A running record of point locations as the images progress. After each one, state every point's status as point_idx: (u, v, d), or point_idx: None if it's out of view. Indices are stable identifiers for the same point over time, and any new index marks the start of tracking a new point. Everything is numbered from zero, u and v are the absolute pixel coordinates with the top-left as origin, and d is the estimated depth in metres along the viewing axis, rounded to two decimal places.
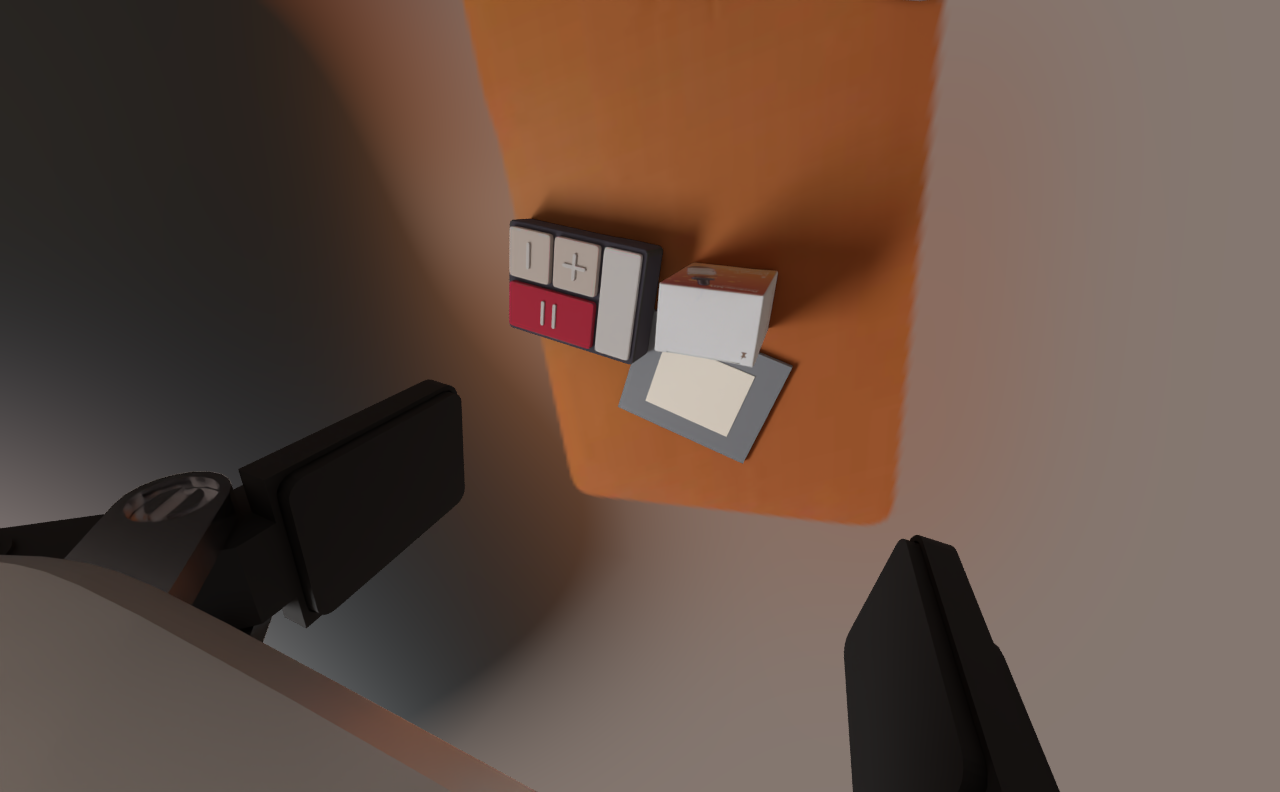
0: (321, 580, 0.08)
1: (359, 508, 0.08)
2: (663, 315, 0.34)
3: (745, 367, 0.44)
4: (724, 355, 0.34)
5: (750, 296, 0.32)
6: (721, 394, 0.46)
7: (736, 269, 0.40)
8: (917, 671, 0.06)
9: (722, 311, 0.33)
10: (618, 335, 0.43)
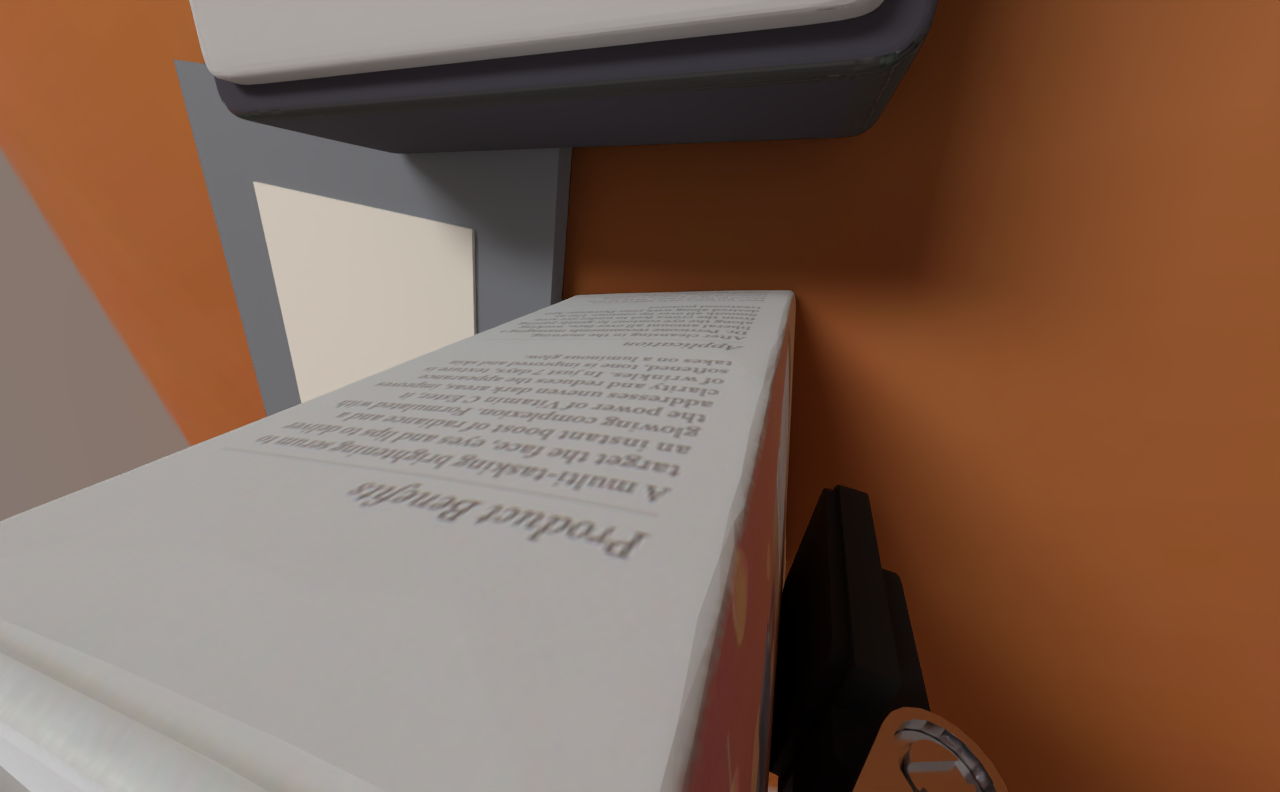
0: None
1: None
2: None
3: None
4: None
5: None
6: None
7: None
8: (818, 589, 0.07)
9: None
10: None
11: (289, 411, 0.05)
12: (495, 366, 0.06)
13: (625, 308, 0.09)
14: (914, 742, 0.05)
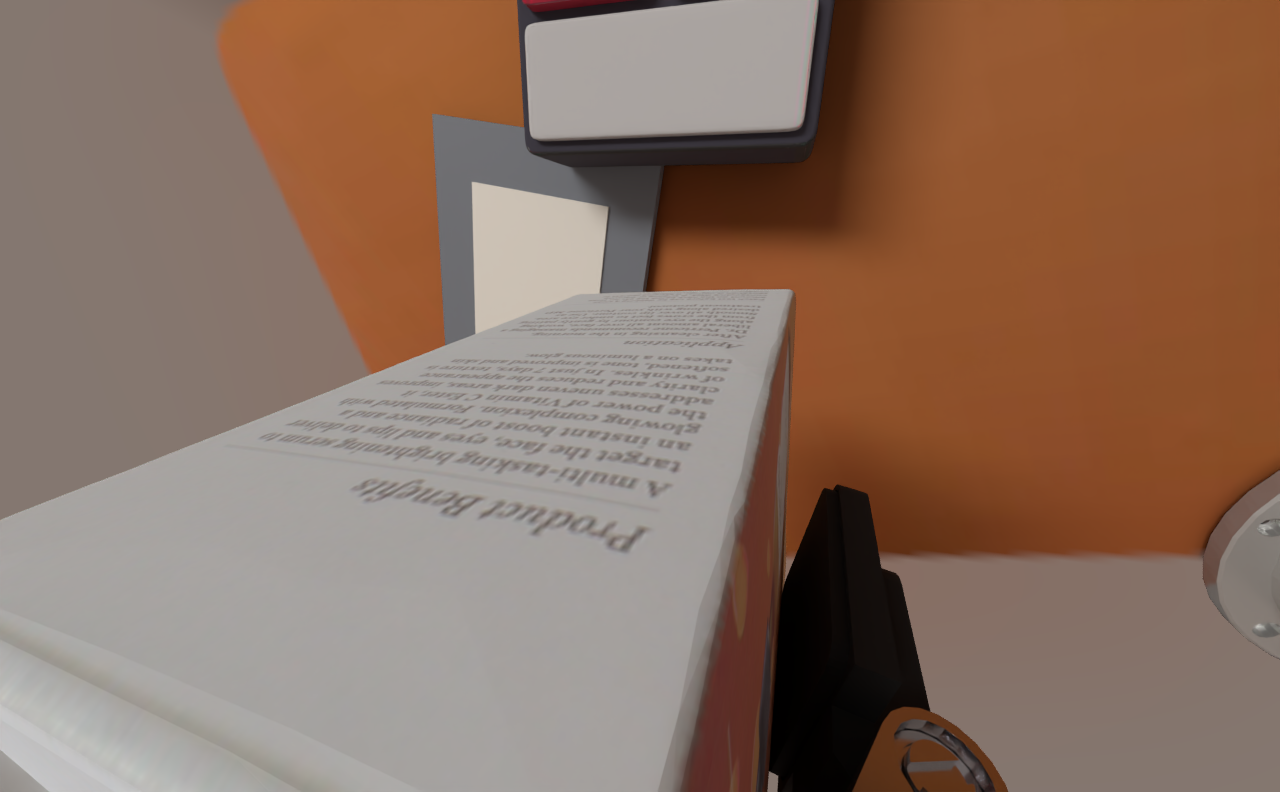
0: None
1: None
2: None
3: None
4: None
5: None
6: None
7: None
8: (818, 589, 0.07)
9: None
10: (583, 98, 0.16)
11: (292, 409, 0.05)
12: (496, 365, 0.06)
13: (626, 307, 0.09)
14: (914, 742, 0.05)
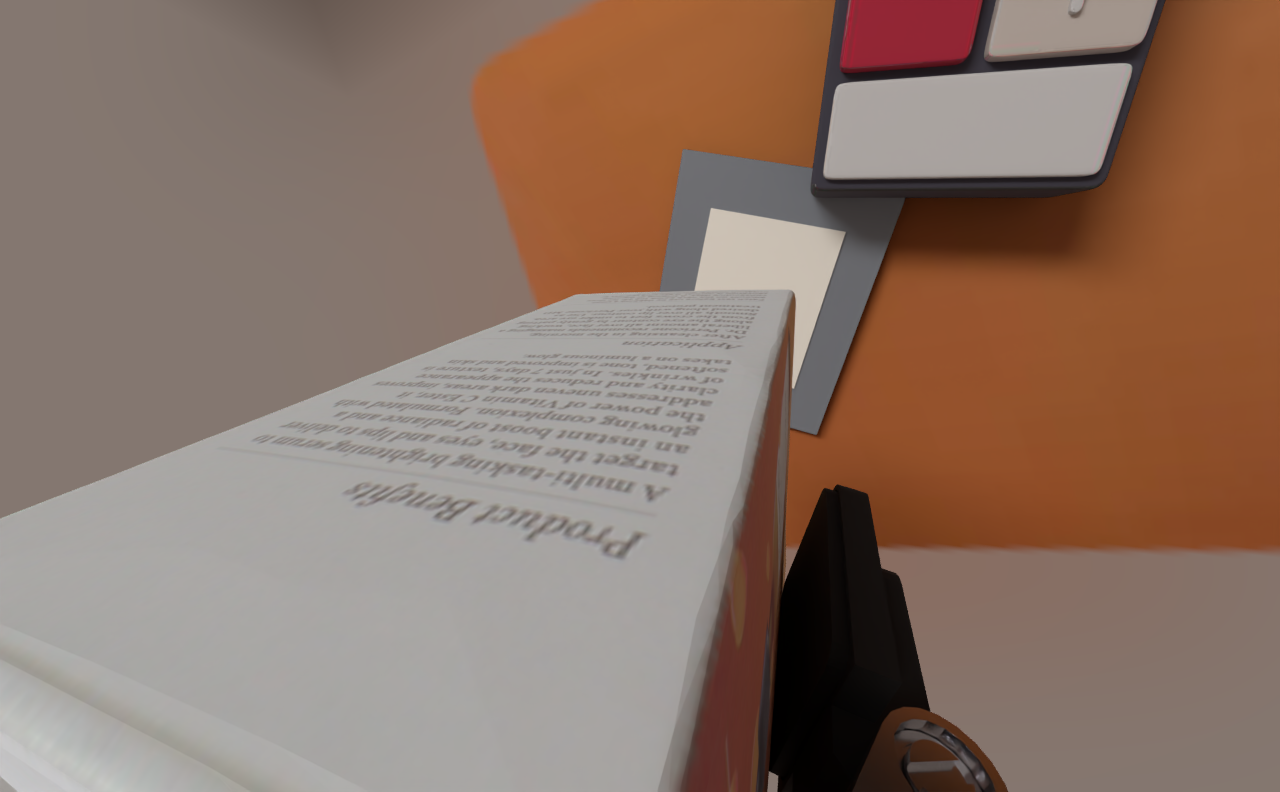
0: None
1: None
2: None
3: (807, 372, 0.28)
4: None
5: None
6: None
7: (786, 497, 0.10)
8: (818, 589, 0.07)
9: None
10: (884, 145, 0.19)
11: (286, 411, 0.05)
12: (493, 365, 0.06)
13: (624, 307, 0.09)
14: (914, 742, 0.05)
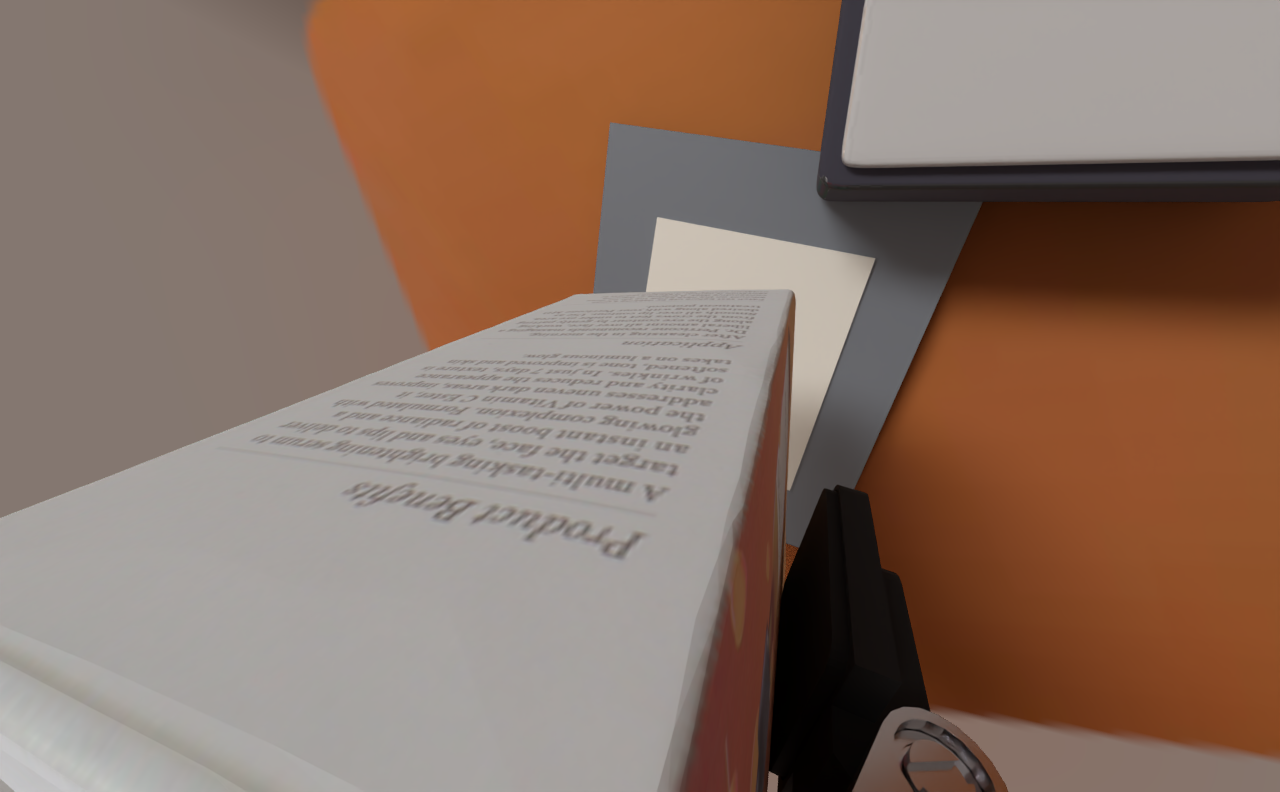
0: None
1: None
2: None
3: (810, 469, 0.18)
4: None
5: None
6: None
7: (786, 497, 0.10)
8: (818, 589, 0.07)
9: None
10: (968, 97, 0.10)
11: (285, 410, 0.05)
12: (493, 365, 0.06)
13: (624, 307, 0.09)
14: (914, 742, 0.05)
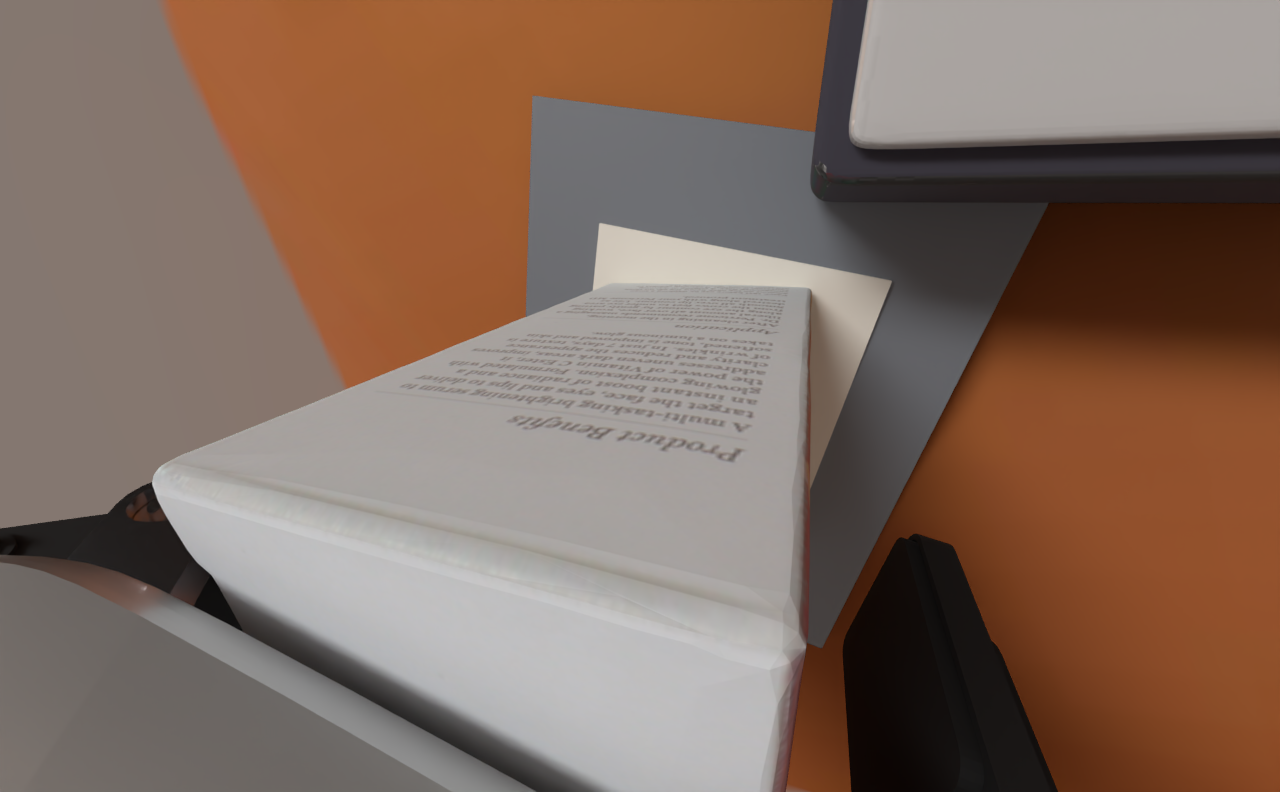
0: None
1: None
2: (419, 608, 0.03)
3: None
4: None
5: None
6: None
7: None
8: (915, 669, 0.06)
9: None
10: (1071, 22, 0.05)
11: (410, 367, 0.06)
12: (570, 339, 0.07)
13: (663, 297, 0.10)
14: None
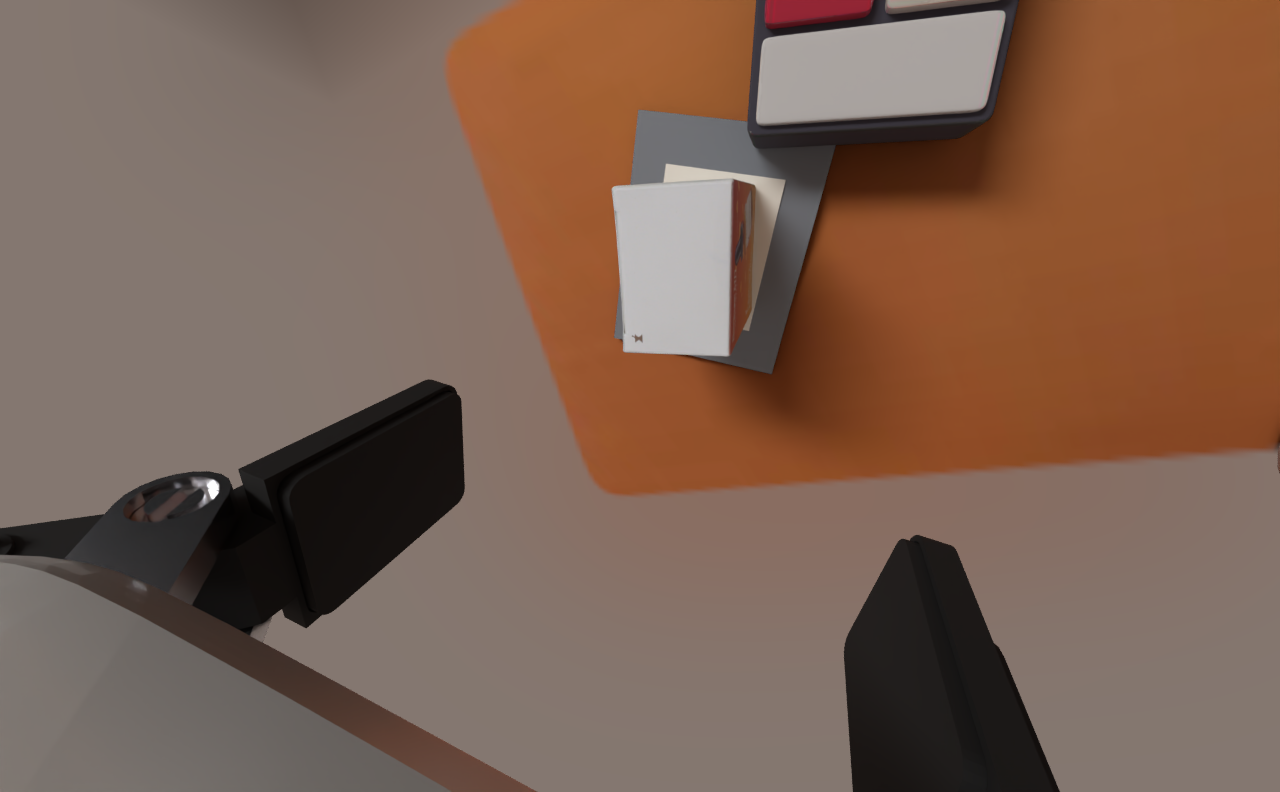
0: (321, 580, 0.08)
1: (359, 508, 0.08)
2: (675, 196, 0.19)
3: (760, 315, 0.31)
4: (631, 310, 0.22)
5: (726, 338, 0.21)
6: None
7: (751, 261, 0.28)
8: (917, 671, 0.06)
9: (698, 299, 0.21)
10: (806, 92, 0.22)
11: None
12: None
13: None
14: None
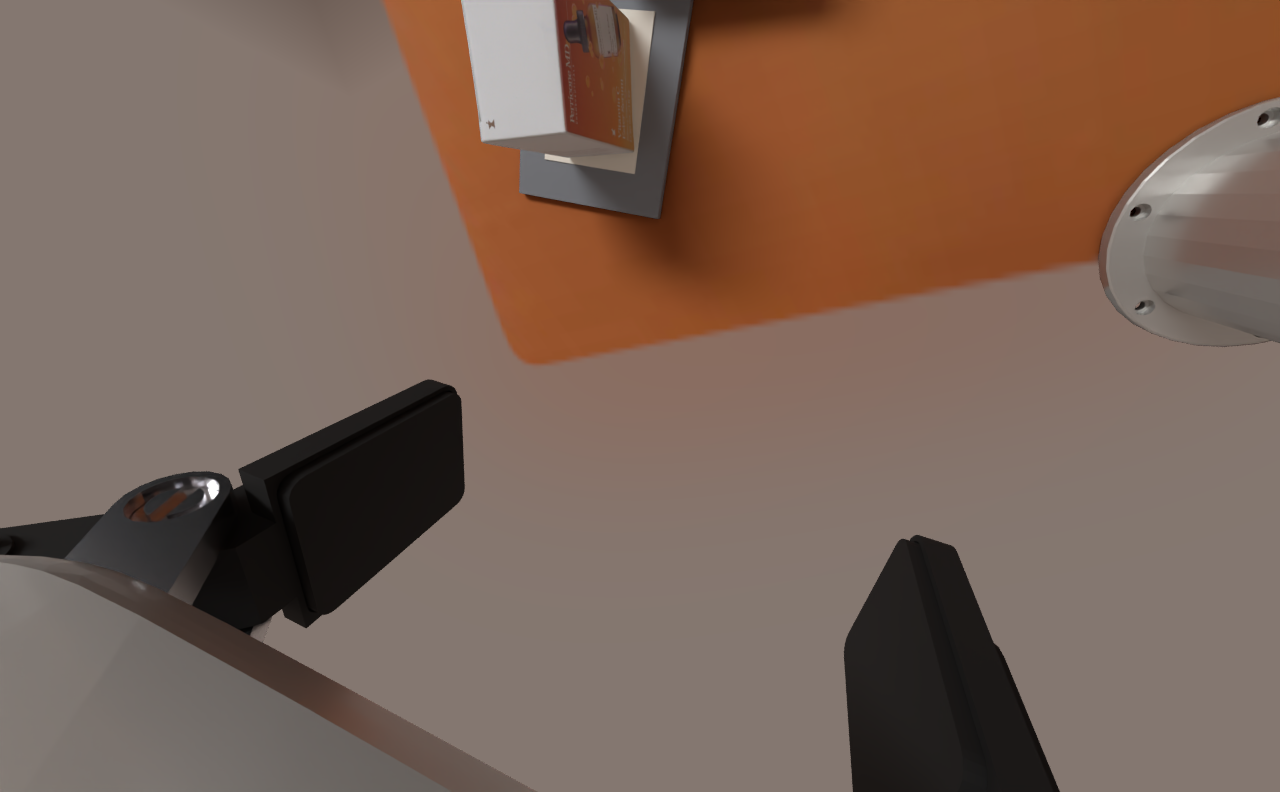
0: (321, 580, 0.08)
1: (359, 508, 0.08)
2: None
3: (643, 156, 0.33)
4: (483, 94, 0.24)
5: (561, 112, 0.23)
6: None
7: (624, 91, 0.30)
8: (917, 671, 0.06)
9: (534, 73, 0.23)
10: None
11: None
12: None
13: None
14: None
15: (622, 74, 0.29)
